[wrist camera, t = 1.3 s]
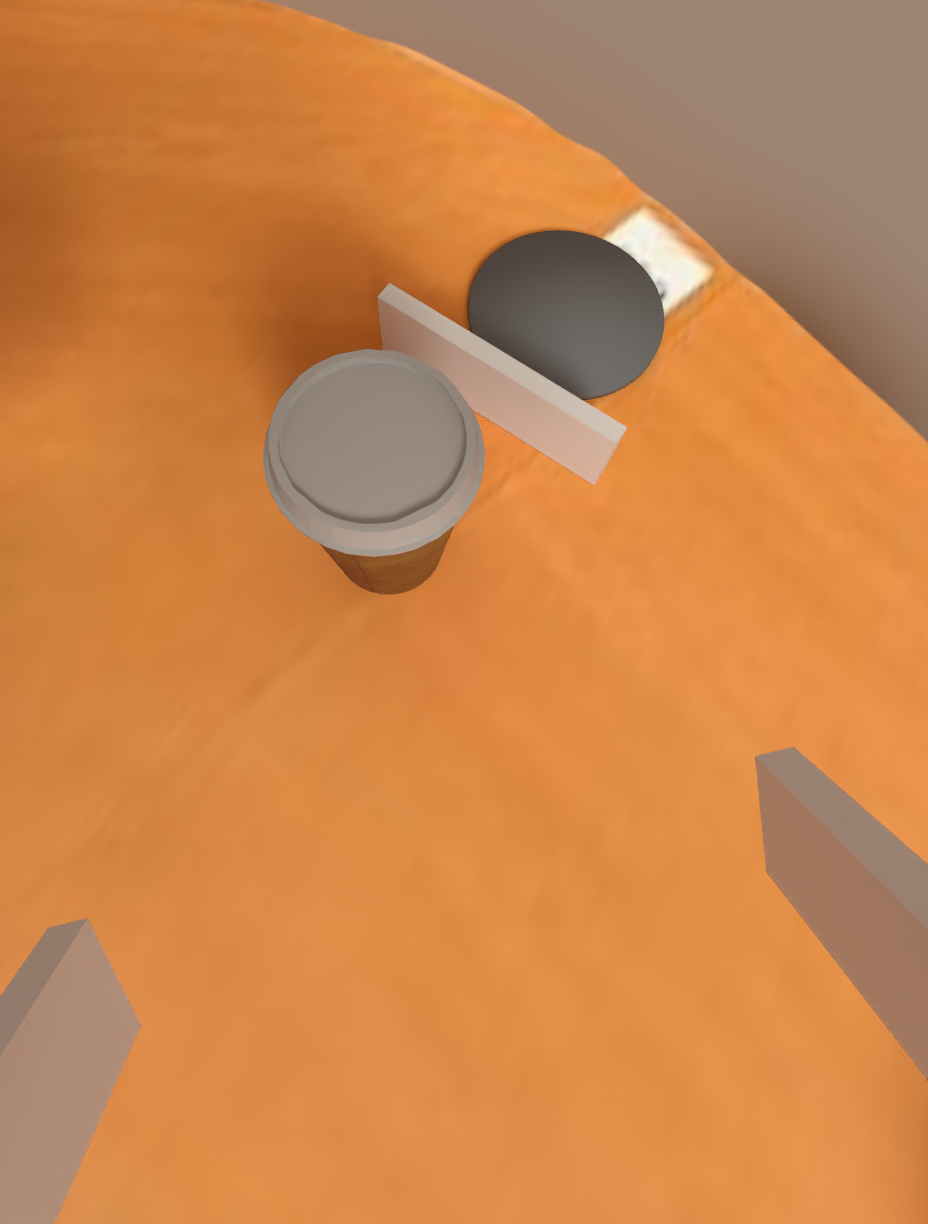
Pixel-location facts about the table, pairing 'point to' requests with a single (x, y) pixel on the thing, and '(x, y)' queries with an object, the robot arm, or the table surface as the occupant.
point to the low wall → (501, 386)
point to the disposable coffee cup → (375, 464)
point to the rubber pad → (569, 310)
